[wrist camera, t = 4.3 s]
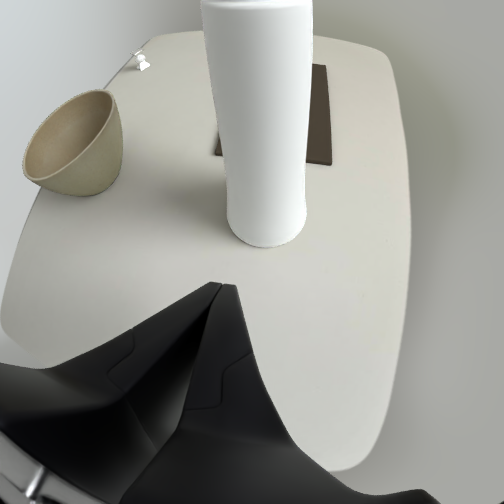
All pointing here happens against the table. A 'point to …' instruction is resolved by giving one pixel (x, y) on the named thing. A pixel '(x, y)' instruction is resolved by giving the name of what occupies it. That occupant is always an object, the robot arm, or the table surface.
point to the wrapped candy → (140, 59)
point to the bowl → (77, 146)
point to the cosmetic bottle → (262, 111)
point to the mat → (315, 120)
